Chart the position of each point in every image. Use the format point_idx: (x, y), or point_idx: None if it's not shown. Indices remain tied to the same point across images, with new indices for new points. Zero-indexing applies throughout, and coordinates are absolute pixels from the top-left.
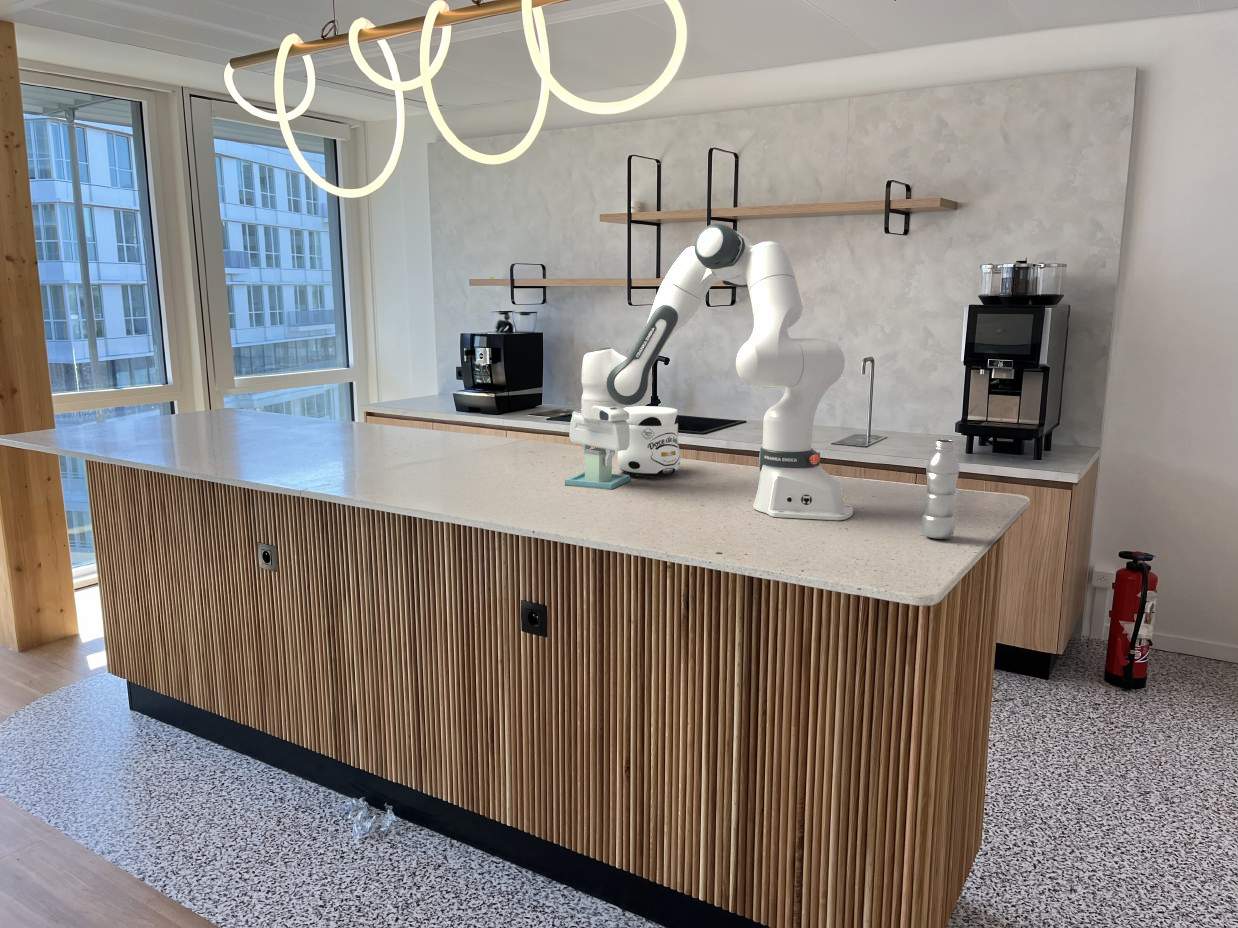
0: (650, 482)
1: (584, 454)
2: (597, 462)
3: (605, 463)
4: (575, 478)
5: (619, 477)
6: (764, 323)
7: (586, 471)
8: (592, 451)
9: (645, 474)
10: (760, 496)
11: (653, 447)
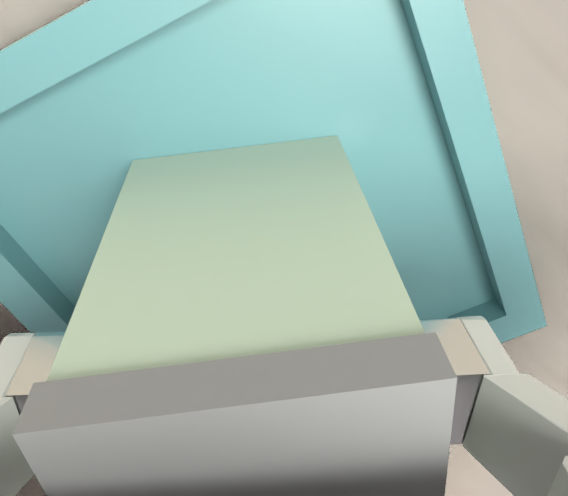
0: (32, 483)
1: (527, 377)
2: (113, 290)
3: (30, 348)
4: (429, 75)
5: None
6: None
7: (327, 183)
8: (207, 402)
9: None
10: None
11: None
